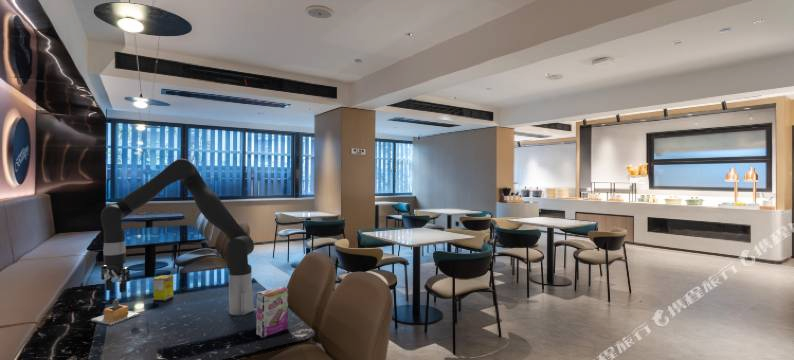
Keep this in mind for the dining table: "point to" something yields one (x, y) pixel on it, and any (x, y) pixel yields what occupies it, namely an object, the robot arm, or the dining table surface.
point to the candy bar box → (272, 311)
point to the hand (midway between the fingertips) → (115, 291)
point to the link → (115, 312)
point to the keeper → (111, 321)
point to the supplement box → (163, 288)
